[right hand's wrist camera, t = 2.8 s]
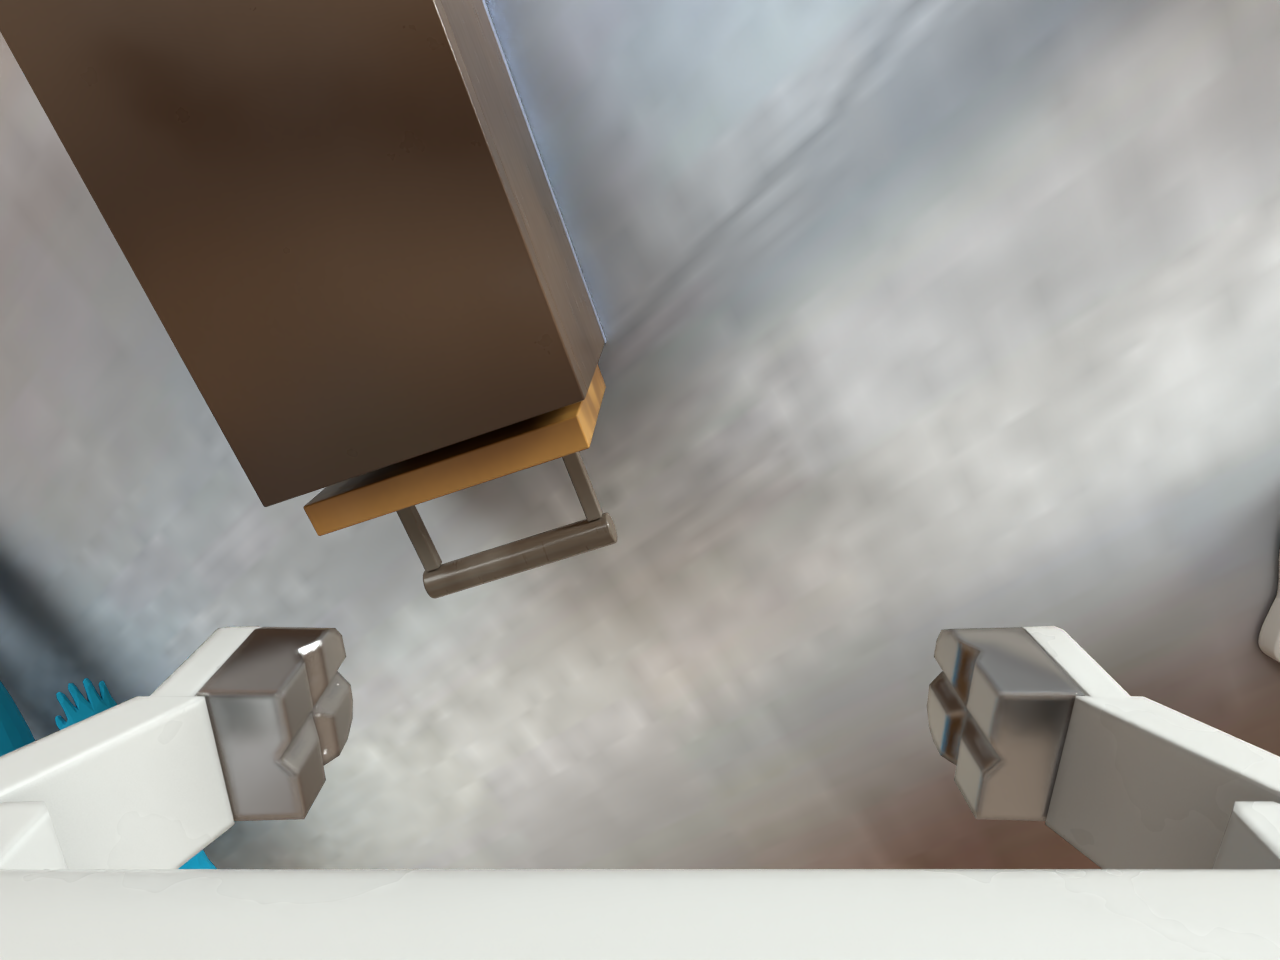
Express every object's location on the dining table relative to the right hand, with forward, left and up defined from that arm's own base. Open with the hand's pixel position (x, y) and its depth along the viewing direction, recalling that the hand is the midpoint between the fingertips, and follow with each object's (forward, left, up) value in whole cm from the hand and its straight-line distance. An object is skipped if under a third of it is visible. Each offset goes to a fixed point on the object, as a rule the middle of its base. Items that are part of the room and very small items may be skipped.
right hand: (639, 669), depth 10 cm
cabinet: (+12, +1, -25) cm, 28 cm away
